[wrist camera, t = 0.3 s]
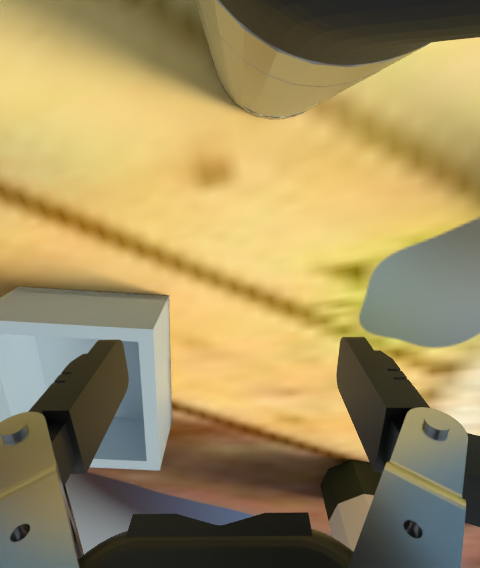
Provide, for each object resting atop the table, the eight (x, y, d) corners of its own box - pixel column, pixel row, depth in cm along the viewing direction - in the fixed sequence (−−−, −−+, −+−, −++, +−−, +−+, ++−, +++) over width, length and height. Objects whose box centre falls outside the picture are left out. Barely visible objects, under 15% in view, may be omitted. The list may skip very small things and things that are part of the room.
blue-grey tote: (18, 286, 29) (-33, 318, 24) (169, 295, 30) (152, 329, 24) (48, 415, 36) (13, 463, 30) (171, 421, 36) (159, 470, 31)
